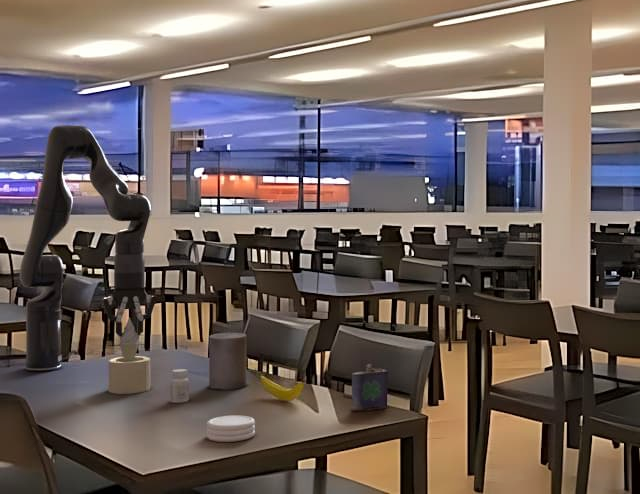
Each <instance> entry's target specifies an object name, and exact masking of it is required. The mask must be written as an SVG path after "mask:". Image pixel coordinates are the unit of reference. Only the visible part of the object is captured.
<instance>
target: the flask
mask: <svg viewBox="0 0 640 494" xmlns="http://www.w3.org/2000/svg"><path fill="white" fill-rule="evenodd" d="M364 366H366V368H365V371H357V372H353V373H352V374H351V411H353V412H363V411H372V410H377V409H379V410H380V409H387V408H388V392H389V391H388V382H389V378H388V377H389V372H388V370H387V369H383V368H373V367H372V363H367V364H365V365H364Z"/></svg>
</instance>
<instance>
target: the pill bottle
mask: <svg viewBox="0 0 640 494" xmlns="http://www.w3.org/2000/svg"><path fill="white" fill-rule="evenodd" d="M171 373H172V375H171V376H172V377H173V378H171V380H170V386H169V387H170V389H169V390H170V392H169V393H170V403H173V404H183V403H187V402H188V401H189V400H190V380H189V378H187V376H188V370H187V369H186V368H185V369H184V368H177V369H173V370H172V372H171Z"/></svg>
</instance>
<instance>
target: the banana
mask: <svg viewBox="0 0 640 494" xmlns="http://www.w3.org/2000/svg"><path fill="white" fill-rule="evenodd" d="M259 378H260V382H261V384H262V386H263V388H264V389H265V391H266V392H268V394H270V395H271V396H273V397H274V398H276V399H278V400H281V401H284V402H292V401H294V400H295V399H297V398H298V397H299V396H301V394H302V392H303V389H304V387H305V385H304V383H305V382H306V380H305V379H302V380H301V382H298V383H297V384H295V385H294V386H293V387H292V388H287V387H284V386H281V385H280V384H278V383H276V382H273V381H272V380H270V379H268V378H267V377H266V376H264V375H259Z"/></svg>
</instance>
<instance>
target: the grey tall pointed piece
mask: <svg viewBox="0 0 640 494" xmlns="http://www.w3.org/2000/svg"><path fill="white" fill-rule="evenodd" d="M135 328H136V327H135V326H134V325H133V322H132V320H131V317H128V320H127V322H126V324H125V326H124V328H123V331H122V337H119V343H118V345H119V347H120V352H121V356H122V357H123V358H124V362H133V361H134V359H135V356H137V351H138V348H139V345H140V335H138V334H137V330H136V329H135Z"/></svg>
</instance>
